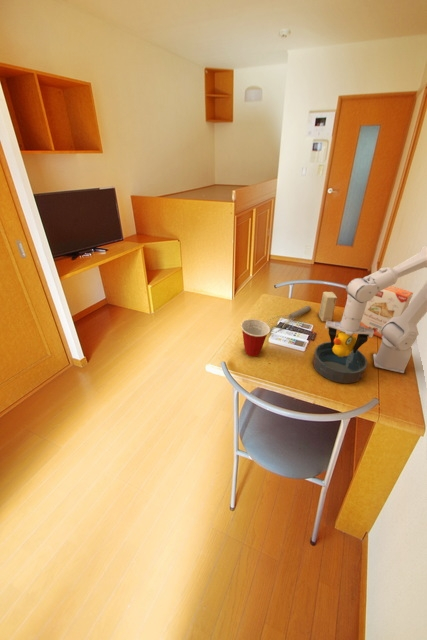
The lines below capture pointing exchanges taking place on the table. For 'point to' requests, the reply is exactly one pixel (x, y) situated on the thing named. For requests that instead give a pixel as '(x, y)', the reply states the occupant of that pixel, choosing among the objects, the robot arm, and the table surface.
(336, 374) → the bowl
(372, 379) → the table surface
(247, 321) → the plastic cup
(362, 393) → the table surface
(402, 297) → the cracker box
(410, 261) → the robot arm
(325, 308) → the cosmetic box
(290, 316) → the kitchen whisk
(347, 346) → the duckling
